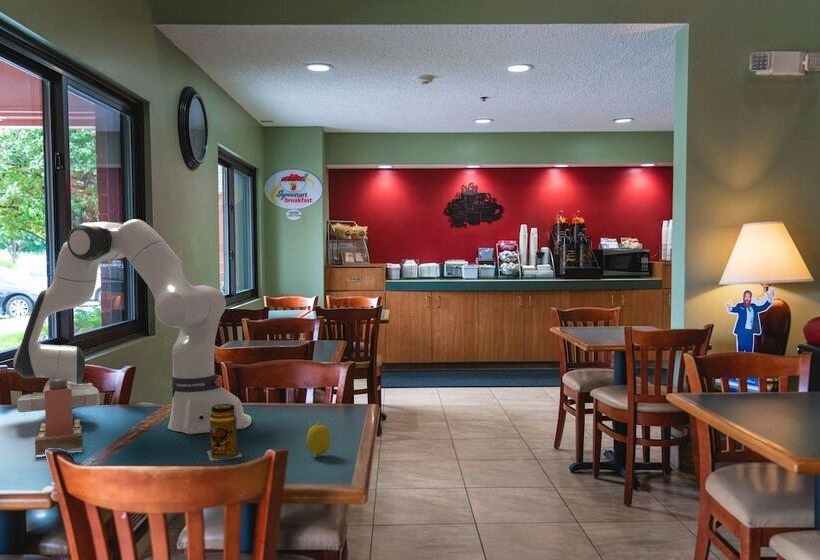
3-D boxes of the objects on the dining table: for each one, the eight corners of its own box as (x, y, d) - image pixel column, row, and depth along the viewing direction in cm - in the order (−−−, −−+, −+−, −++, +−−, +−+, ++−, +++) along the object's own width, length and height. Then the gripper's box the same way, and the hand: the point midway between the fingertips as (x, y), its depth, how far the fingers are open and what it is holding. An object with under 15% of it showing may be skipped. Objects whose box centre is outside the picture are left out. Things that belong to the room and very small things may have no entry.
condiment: (210, 461, 158) (209, 410, 157) (206, 451, 166) (205, 402, 165) (242, 457, 161) (241, 407, 160) (237, 448, 169) (236, 400, 168)
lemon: (307, 453, 163) (307, 420, 163) (331, 452, 164) (330, 419, 163) (306, 460, 158) (305, 426, 157) (330, 459, 158) (329, 425, 158)
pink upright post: (46, 438, 174) (45, 379, 174) (73, 435, 177) (71, 377, 176) (46, 442, 170) (44, 382, 169) (73, 439, 172) (71, 380, 172)
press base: (40, 434, 183) (39, 418, 183) (81, 429, 188) (80, 414, 187) (35, 458, 162) (35, 440, 162) (82, 452, 166) (81, 435, 166)
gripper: (17, 388, 190) (13, 398, 178) (98, 382, 199) (100, 390, 187) (18, 411, 190) (14, 422, 178) (98, 403, 200) (100, 413, 187)
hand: (59, 406), depth 183 cm, fingers closed
